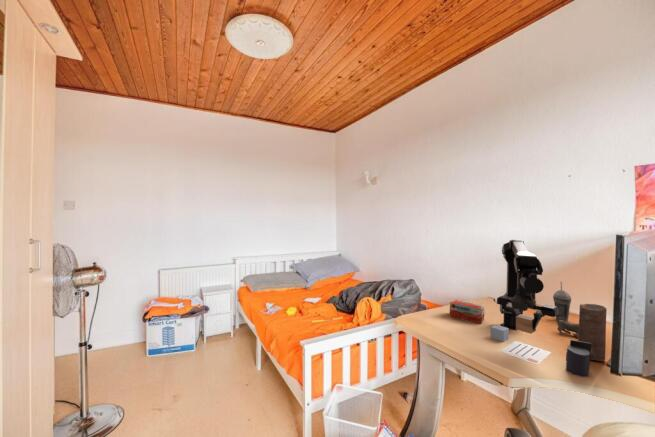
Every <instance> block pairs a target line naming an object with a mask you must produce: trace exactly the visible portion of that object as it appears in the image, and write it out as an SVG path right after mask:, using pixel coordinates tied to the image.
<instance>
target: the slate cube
mask: <svg viewBox="0 0 655 437" xmlns="http://www.w3.org/2000/svg"><path fill="white" fill-rule="evenodd" d="M509 329H510V328H507V327H504V326H501V325H498V324H494V325H492V326H490V338H491V339H493V340H497V341H500V342H503V343H504V342H506V341H508V340H509V338H510V337H509V335H510V334H509V333H510V332H509Z"/></svg>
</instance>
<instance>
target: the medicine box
mask: <svg viewBox="0 0 655 437" xmlns="http://www.w3.org/2000/svg"><path fill="white" fill-rule="evenodd" d="M449 317H450V318H452V319H458V320H462V321H466V322H471V323H475V324H480V325H481V324H482V323H483V321H484V320H485V305H484V304H481V303H477V302H476V303H475V302H470V301H463V300H460V299H453V300H451V301H450V303H449Z"/></svg>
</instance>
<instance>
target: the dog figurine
mask: <svg viewBox="0 0 655 437" xmlns="http://www.w3.org/2000/svg"><path fill="white" fill-rule="evenodd" d="M559 318H562V317H558V318H557V320H558V321H557V320H556V321H557V331H558V332H559V334H560V335H561V336H563V335H564V333H566V334H569V335H571V334H572V335H573V336H574V337H575V338H577V337H578V336H579V323H570V322H565V319H564V318H562V319H563V320H559ZM563 332H564V333H563ZM564 336H565V335H564Z"/></svg>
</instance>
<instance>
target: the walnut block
mask: <svg viewBox="0 0 655 437" xmlns="http://www.w3.org/2000/svg"><path fill="white" fill-rule="evenodd" d="M533 322H534V316H531V315H527V314H524V313H523V314H520V315H518V316H516V330H517V331H521V332H524V333H527V334H533V333H534V332H537V328H536V329H535V330H533Z"/></svg>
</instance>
